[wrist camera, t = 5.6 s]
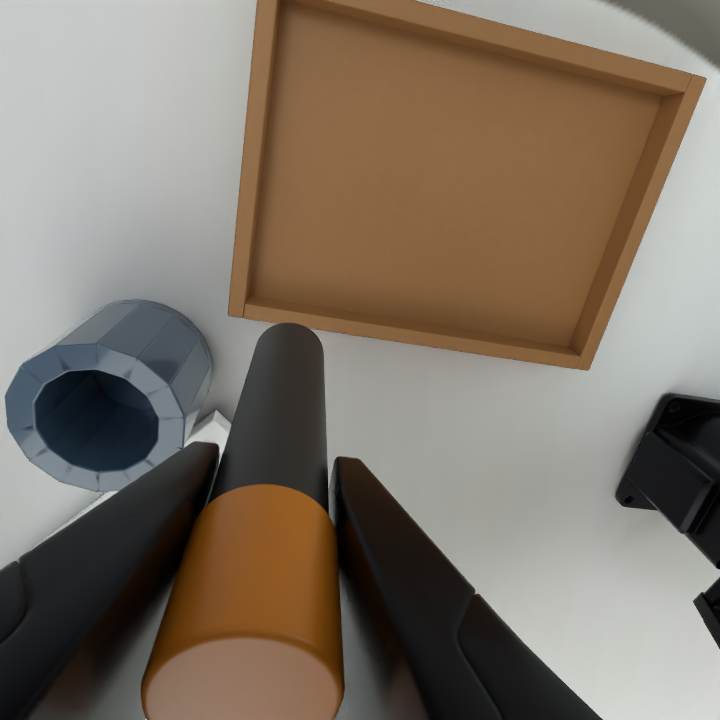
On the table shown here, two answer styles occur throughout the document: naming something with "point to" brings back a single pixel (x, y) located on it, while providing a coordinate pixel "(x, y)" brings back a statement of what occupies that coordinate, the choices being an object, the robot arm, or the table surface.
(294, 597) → the cylinder
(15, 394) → the pen cup
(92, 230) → the table surface
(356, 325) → the brown flat rectangular frame
